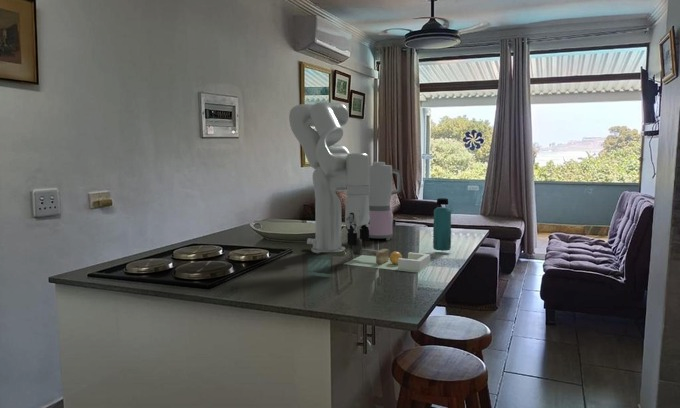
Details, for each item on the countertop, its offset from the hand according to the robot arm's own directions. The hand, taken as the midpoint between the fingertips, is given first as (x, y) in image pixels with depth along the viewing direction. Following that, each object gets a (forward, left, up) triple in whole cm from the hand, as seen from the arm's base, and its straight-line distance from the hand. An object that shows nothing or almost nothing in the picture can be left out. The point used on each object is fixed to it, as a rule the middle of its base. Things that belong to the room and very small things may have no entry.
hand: (358, 243), depth 166 cm
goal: (+19, +1, -6) cm, 20 cm away
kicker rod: (+4, +1, -6) cm, 7 cm away
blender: (-10, +46, -7) cm, 47 cm away
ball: (+13, +1, -4) cm, 13 cm away
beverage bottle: (+20, +29, -7) cm, 36 cm away
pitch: (+10, +1, -7) cm, 12 cm away
